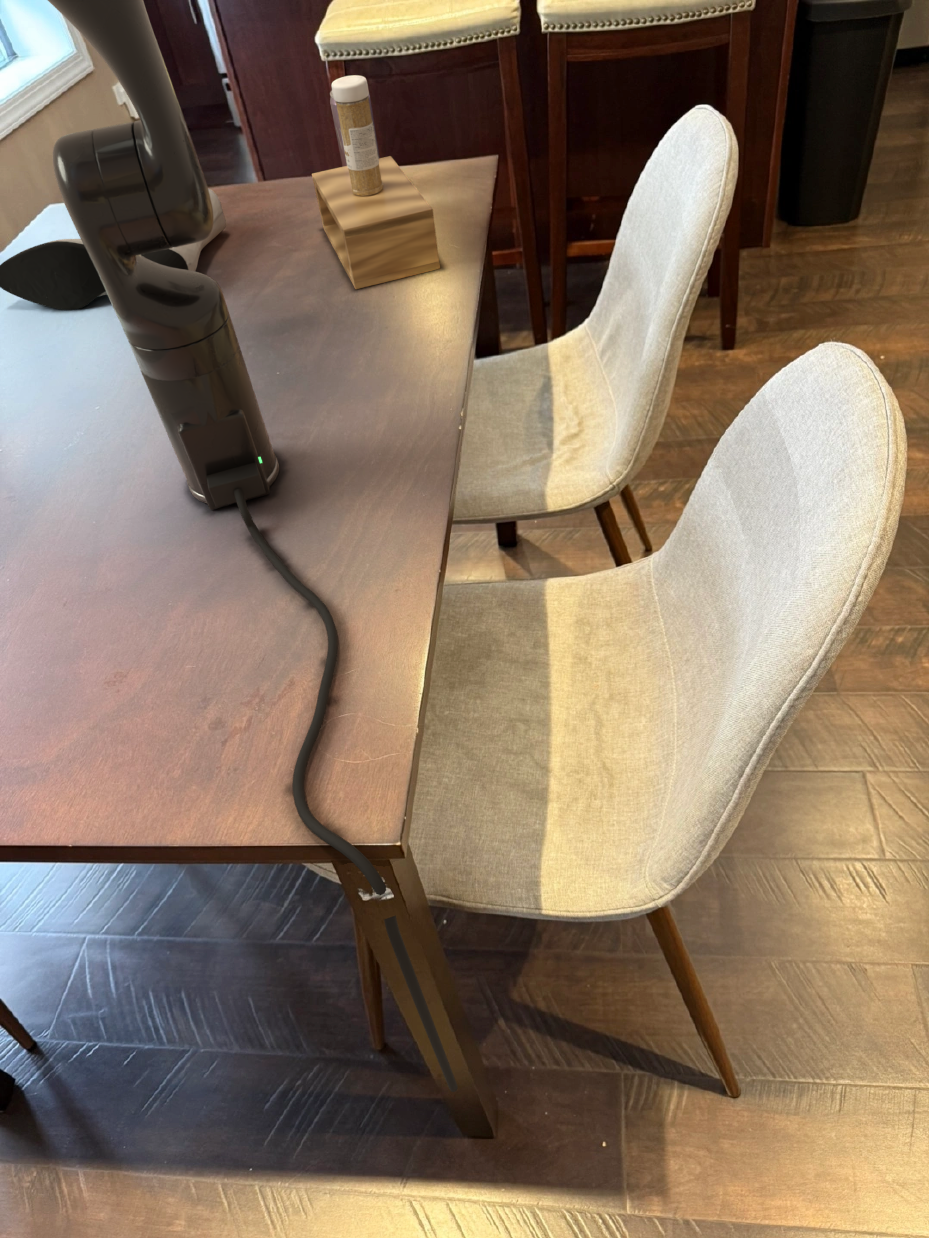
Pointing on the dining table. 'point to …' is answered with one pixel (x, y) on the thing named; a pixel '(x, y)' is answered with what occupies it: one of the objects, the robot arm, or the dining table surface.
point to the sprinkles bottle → (358, 134)
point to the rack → (377, 226)
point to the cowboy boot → (83, 268)
